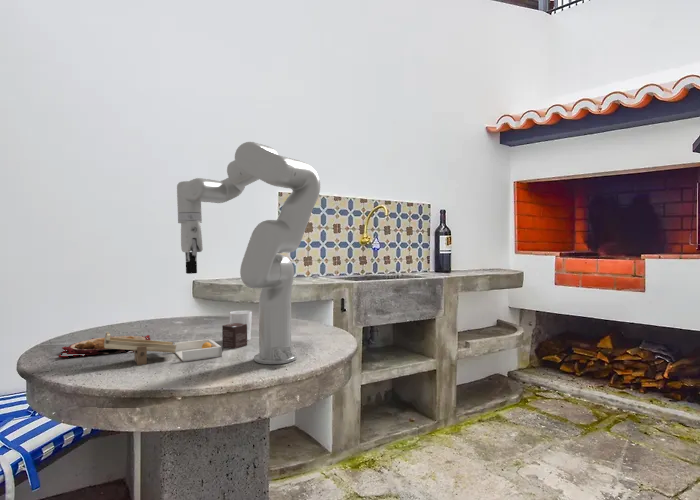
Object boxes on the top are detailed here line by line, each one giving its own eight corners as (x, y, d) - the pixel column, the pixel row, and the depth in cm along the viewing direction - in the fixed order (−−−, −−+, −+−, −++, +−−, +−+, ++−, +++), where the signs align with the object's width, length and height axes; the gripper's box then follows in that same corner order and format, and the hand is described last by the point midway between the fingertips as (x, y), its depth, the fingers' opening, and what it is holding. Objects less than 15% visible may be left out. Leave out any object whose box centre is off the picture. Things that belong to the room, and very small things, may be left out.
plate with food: (153, 352, 150) (153, 341, 150) (58, 360, 139) (58, 348, 139) (149, 339, 172) (149, 330, 172) (67, 345, 161) (67, 335, 161)
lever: (174, 352, 138) (177, 340, 139) (104, 348, 128) (107, 335, 129) (167, 344, 149) (169, 333, 149) (102, 339, 139) (104, 328, 140)
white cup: (249, 342, 162) (248, 313, 162) (227, 342, 162) (226, 313, 162) (254, 337, 170) (254, 310, 170) (233, 337, 170) (232, 310, 170)
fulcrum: (146, 364, 133) (146, 346, 133) (137, 365, 132) (137, 347, 132) (143, 358, 140) (142, 341, 140) (134, 359, 139) (134, 342, 139)
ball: (213, 351, 145) (212, 342, 145) (203, 353, 144) (202, 344, 144) (210, 349, 148) (209, 340, 148) (201, 351, 147) (200, 342, 146)
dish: (222, 356, 141) (221, 346, 141) (183, 361, 135) (183, 351, 135) (210, 347, 153) (210, 338, 153) (174, 352, 147) (174, 342, 147)
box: (235, 343, 160) (234, 322, 160) (247, 345, 157) (247, 324, 157) (221, 347, 155) (221, 325, 154) (234, 349, 152) (234, 327, 151)
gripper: (207, 217, 149) (209, 273, 149) (195, 220, 162) (197, 272, 162) (183, 217, 145) (185, 274, 145) (173, 220, 158) (174, 273, 158)
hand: (191, 273), depth 154 cm, fingers closed
